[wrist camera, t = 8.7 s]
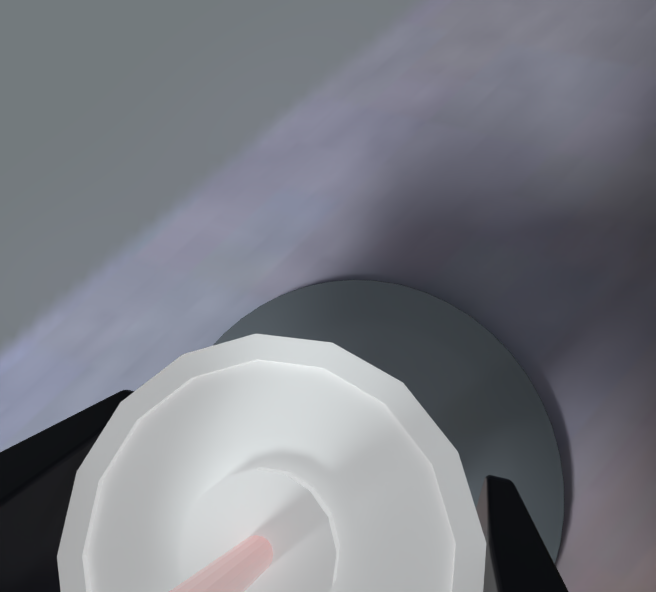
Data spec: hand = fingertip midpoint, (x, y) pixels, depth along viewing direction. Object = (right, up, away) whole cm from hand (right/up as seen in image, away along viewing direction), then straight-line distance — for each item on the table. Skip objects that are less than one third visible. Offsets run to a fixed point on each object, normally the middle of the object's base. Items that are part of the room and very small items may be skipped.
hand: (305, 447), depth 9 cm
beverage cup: (+1, -3, +7) cm, 8 cm away
